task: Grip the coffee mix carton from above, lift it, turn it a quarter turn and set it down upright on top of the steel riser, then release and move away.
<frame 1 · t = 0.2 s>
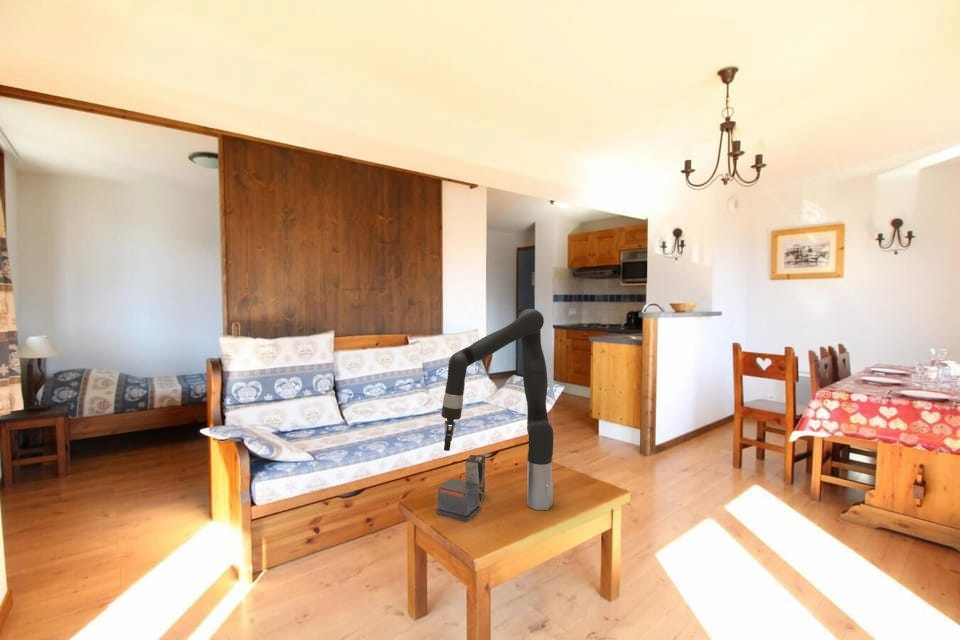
hand: (446, 446, 171), 22 cm above the table, tool pointing down, fingers open, 8 cm apart
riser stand: (458, 512, 166), on the table
coffee box: (475, 499, 177), on the table
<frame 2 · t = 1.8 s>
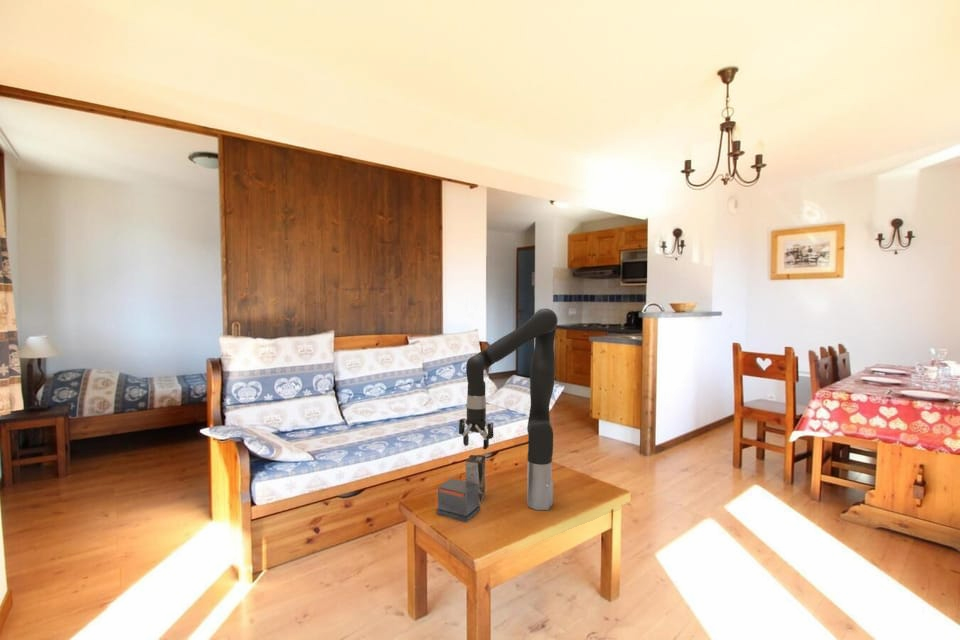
hand: (475, 447, 176), 21 cm above the table, tool pointing down, fingers open, 8 cm apart
nothing on the table moved.
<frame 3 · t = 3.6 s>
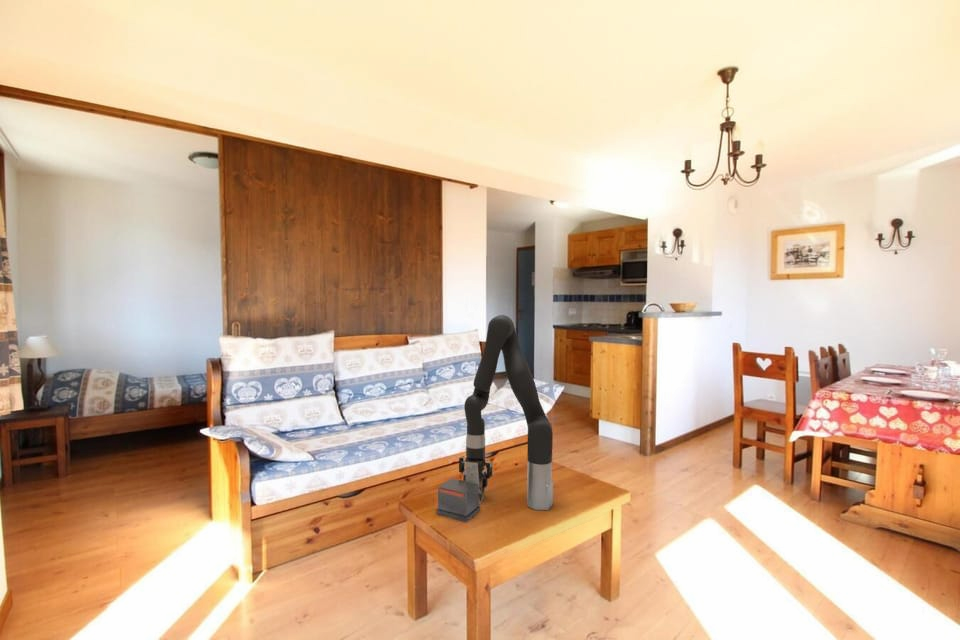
hand: (475, 485, 177), 5 cm above the table, tool pointing down, fingers closed on coffee box, 7 cm apart
coffee box: (475, 499, 177), on the table, touching gripper
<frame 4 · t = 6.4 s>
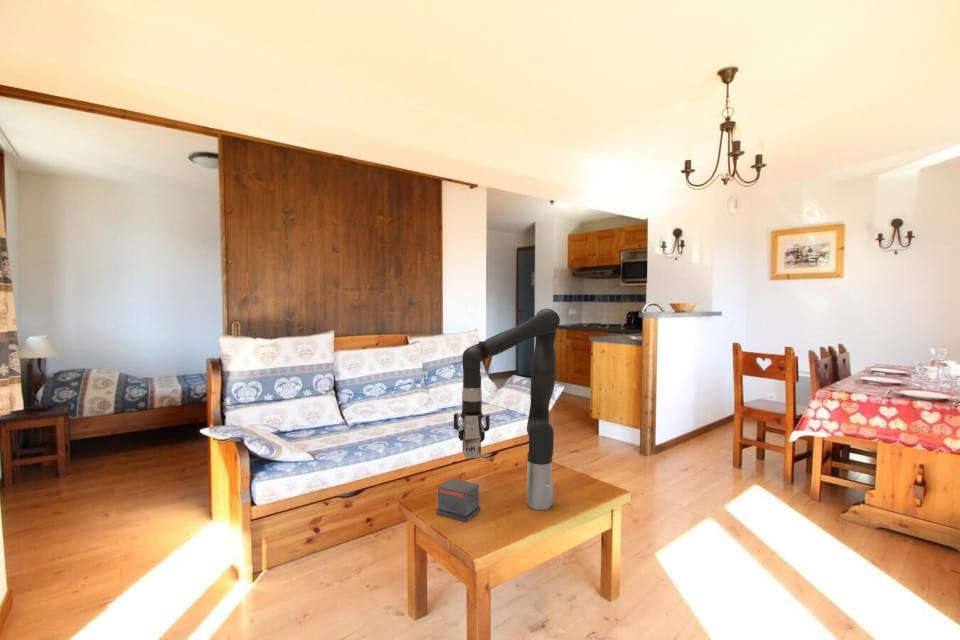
hand: (471, 440, 174), 24 cm above the table, tool pointing down, fingers closed on coffee box, 7 cm apart
coffee box: (471, 454, 174), point 19 cm above the table, touching gripper
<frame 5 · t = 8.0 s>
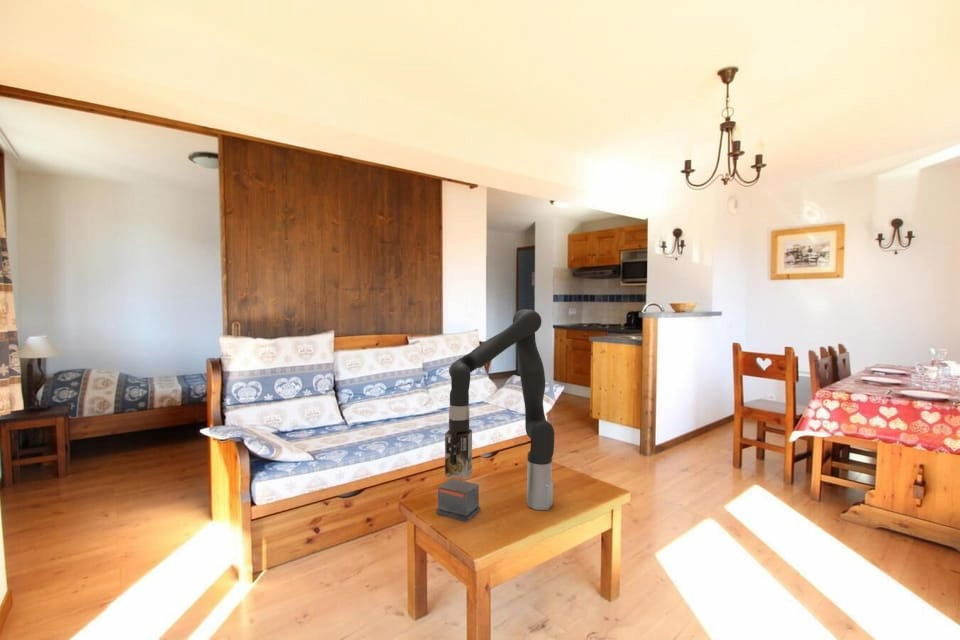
hand: (458, 460, 165), 19 cm above the table, tool pointing down, fingers closed on coffee box, 7 cm apart
coffee box: (458, 475, 165), point 14 cm above the table, touching gripper
when the fingers open (17 cm above the table, at t = 9.1 s): coffee box drops 1 cm, resting on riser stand.
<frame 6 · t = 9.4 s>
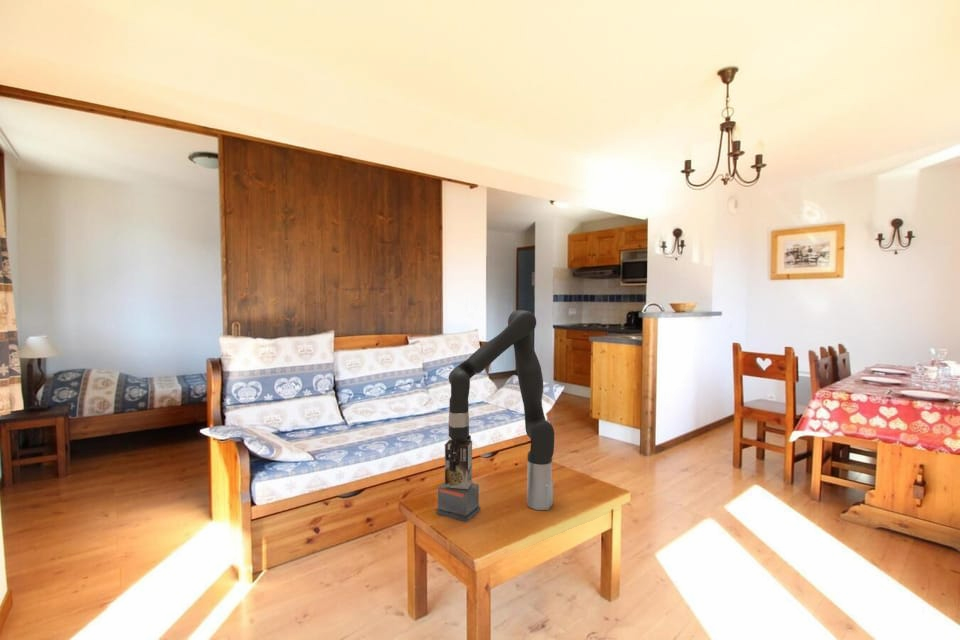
hand: (458, 467, 165), 17 cm above the table, tool pointing down, fingers open, 8 cm apart
coffee box: (458, 485, 166), point 10 cm above the table, touching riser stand
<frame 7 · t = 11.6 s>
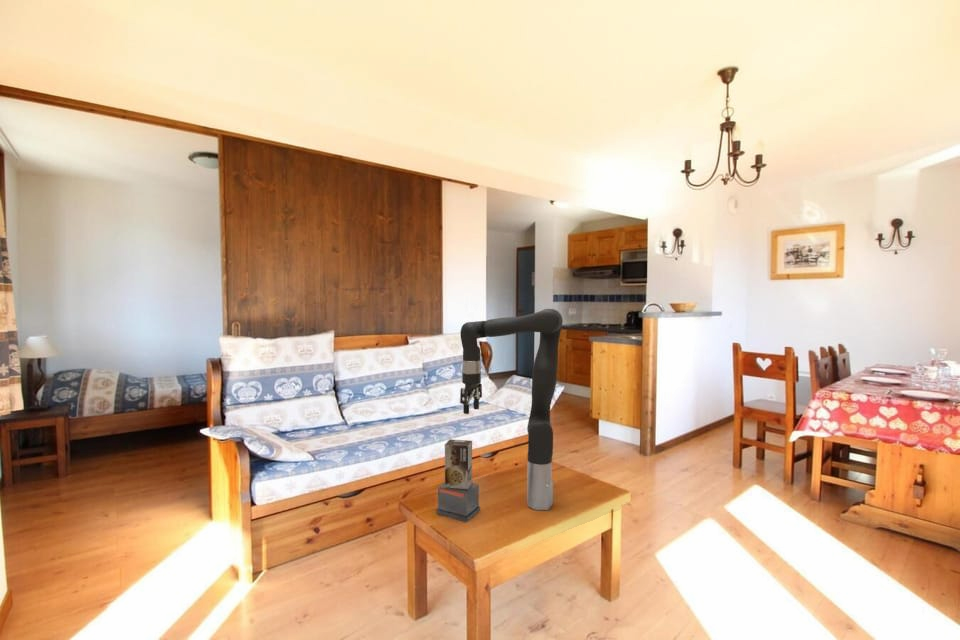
hand: (471, 411, 181), 33 cm above the table, tool pointing down, fingers open, 8 cm apart
nothing on the table moved.
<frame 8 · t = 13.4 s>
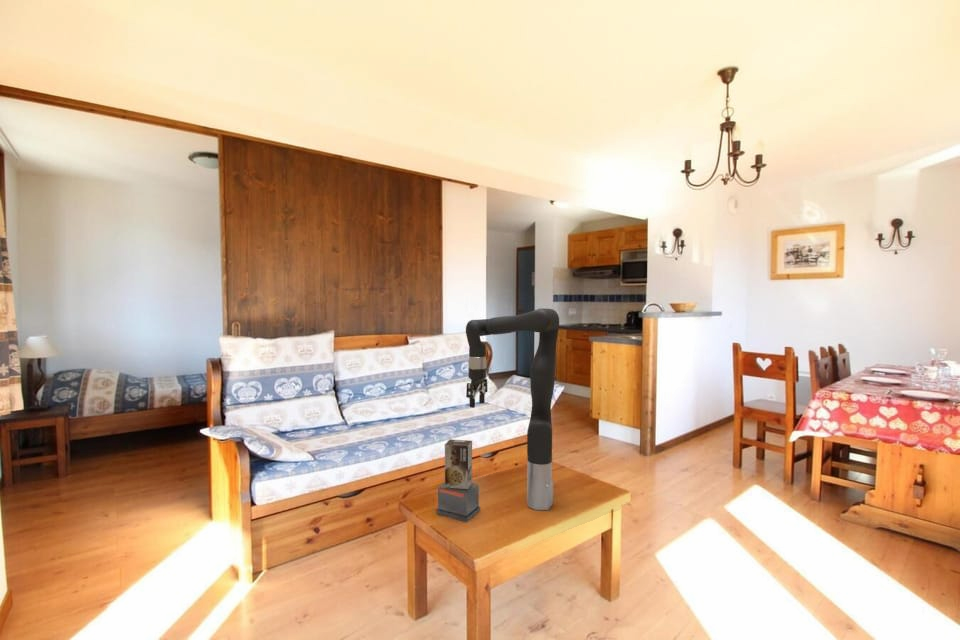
hand: (477, 405, 189), 34 cm above the table, tool pointing down, fingers open, 8 cm apart
nothing on the table moved.
at the end: coffee box inside the target area on the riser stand (0.1 cm from its centre), point 9.8 cm above the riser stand's base; coffee box tilted 0°; the gripper is holding nothing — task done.
